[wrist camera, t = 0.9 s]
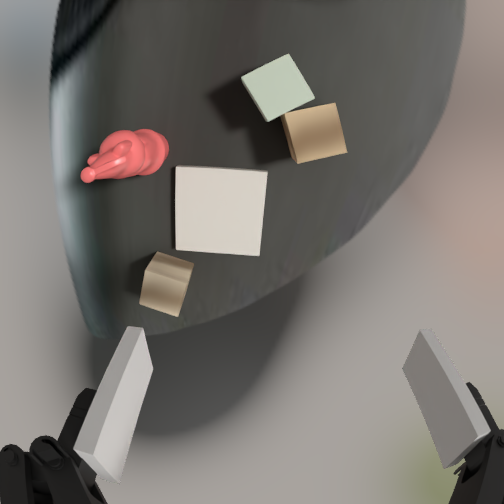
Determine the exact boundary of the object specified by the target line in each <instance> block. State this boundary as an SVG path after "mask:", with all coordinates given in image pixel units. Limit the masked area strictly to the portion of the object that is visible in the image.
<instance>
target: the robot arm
mask: <svg viewBox="0 0 504 504" xmlns="http://www.w3.org/2000/svg"><path fill="white" fill-rule="evenodd" d="M402 369H403V371H404V373H405V375H406V378H407V380H408V382H409V384H410V386H411V389H412V391H413V393H414V395H415V397H416V400H417V402H418V405H419V407H420V409H421V411H422V414H423V416H424V419H425V421H426V424H427V426H428V428H429V431H430V433H431V436H432V438H433V441H434V444H435V446H436V449H437V451H438V454H439V457H440V459H441V462H442V465H443V468H444V469H445V468H448V467H451V466H453V465H456V464H457V463H459V462H460V461H461V460H462V459H463V458H464V459H465V461H466V462H465V463H463V464H462V465H461V466H460V467H459V468H458V469H457V470H456V471H455V472H454V474H457V473H458V472H459V471H460V470H461V472H460V473H459V474H458V476H459V477H458V480H457V483H456V486H455V489H454V492H453V494H452V496H451V499H450V501H449V504H504V430H503V429H501V430H499V428H498V426H497V425H496V423H495V421H494V419H493V417H492V415H491V413H490V411H489V409H488V408H487V406H486V405H485V403H484V401H483V399H482V398H481V395H480V393H479V392H478V390H477V389H476V388H475V387H474V386H473V385H472V384H471V383H470V382H468V383H465V382H464V380H463V378H462V377H461V375H460V373H459V371H458V370H457V368H456V366H455V365H454V363H453V362H452V360H451V358H450V357H449V355H448V354H447V352H446V350H445V349H444V347H443V346H442V344H441V342H440V341H439V339H438V338H437V336H436V335H435V333H434V332H433V330H432V329H423V330H419V333H418V335H417V338H416V340H415V342H414V344H413V346H412V349H411V351H410V353H409V355H408V357H407V359H406V362H405V364H404V366H403V368H402ZM152 371H153V366H152V362H151V359H150V355H149V351H148V347H147V343H146V339H145V334H144V330H143V328H139V327H130V326H128V327H127V329H126V331H125V333H124V335H123V337H122V339H121V341H120V343H119V345H118V347H117V349H116V351H115V353H114V355H113V358H112V359H111V362H110V364H109V366H108V368H107V370H106V373H105V374H104V377H103V379H102V381H101V384H100V386H99V388H98V390H93V389H89V388H85V389H84V390H83V391H82V392H81V393H80V394H79V395H78V396H77V398H76V401H75V403H74V405H73V408H72V409H71V411H70V415H69V416H68V418H67V420H66V422H65V424H64V427H63V429H62V431H61V433H60V436H59V438H58V441H57V440H55V439H54V438H53V437H50V436H40V437H38V438H36V439H35V440H34V441H33V442H32V443H31V446H30V452H24V451H23V450H22V449H21V448H19V447H18V446H17V445H13V444H10V445H6V446H5V447H3V448H2V450H1V451H0V502H1V504H107V502H106V500H105V498H104V496H103V494H102V492H101V491H100V489H99V487H98V485H97V483H96V482H95V478H96V475H98V476H99V477H100V478H101V479H103V480H106V481H110V482H114V483H117V484H120V480H121V475H122V472H123V468H124V464H125V461H126V457H127V453H128V450H129V446H130V443H131V439H132V436H133V432H134V429H135V425H136V422H137V418H138V415H139V412H140V409H141V406H142V402H143V399H144V396H145V392H146V390H147V386H148V383H149V380H150V377H151V374H152Z"/></svg>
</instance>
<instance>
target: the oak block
mask: <svg viewBox="0 0 504 504" xmlns="http://www.w3.org/2000/svg"><path fill="white" fill-rule="evenodd" d="M280 117H281V121H282V124H283V128H284V131H285V135H286V139H287V142H288V146H289V150H290V154H291V157H292V158H293V159H294V160H295V161H296V162H297V163H298V164H299V163H303V162H307V161H311V160H315V159H320V158H324V157H329V156H333V155H338V154H342V153H347V150H346V146H345V141H344V137H343V132H342V128H341V124H340V120H339V116H338V112H337V108H336V104H335V103H332V104H326V105H321V106H316V107H311V108H306V109H301V110H296V111H292V112H288V113H284V114H282V115H280Z"/></svg>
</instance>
